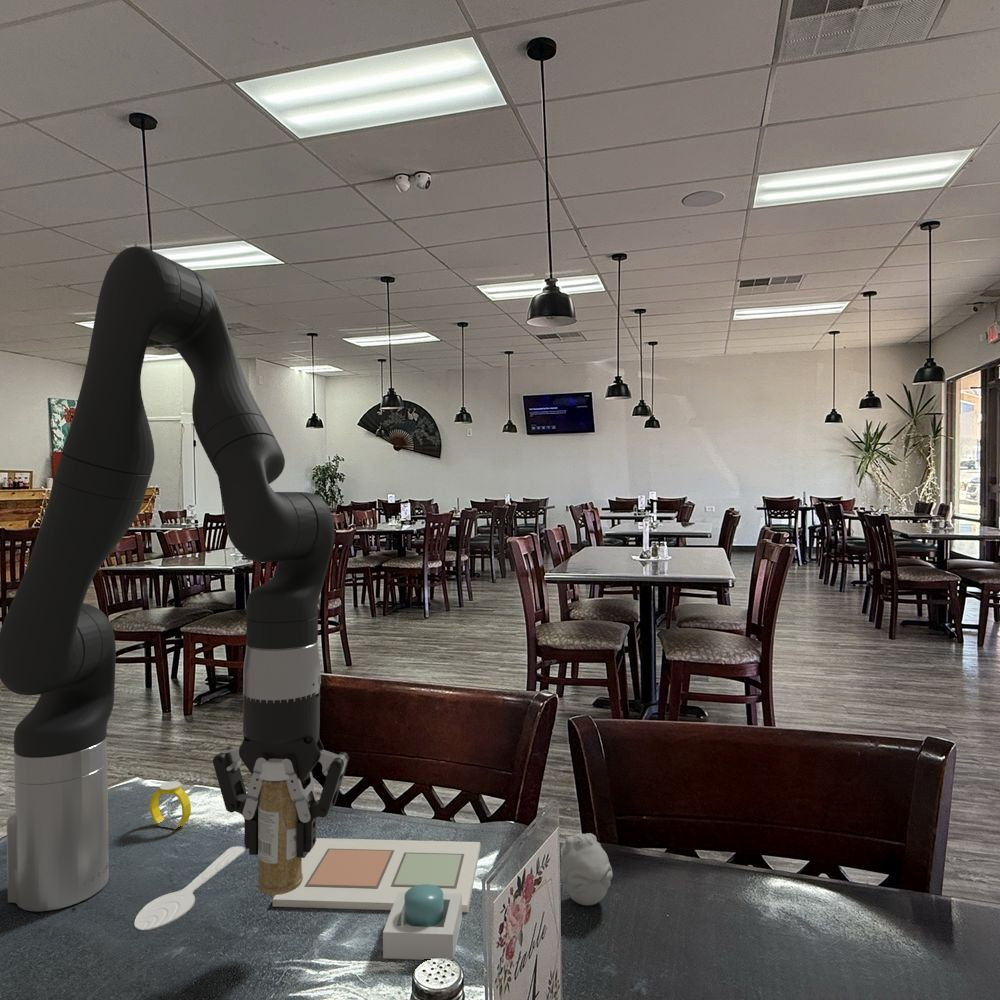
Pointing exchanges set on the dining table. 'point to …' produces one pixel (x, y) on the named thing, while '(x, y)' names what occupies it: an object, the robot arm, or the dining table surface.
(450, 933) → the button housing
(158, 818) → the watch
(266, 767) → the sprinkles bottle
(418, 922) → the button
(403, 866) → the picture board
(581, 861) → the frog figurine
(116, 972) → the dining table surface
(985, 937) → the dining table surface
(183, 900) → the spoon
